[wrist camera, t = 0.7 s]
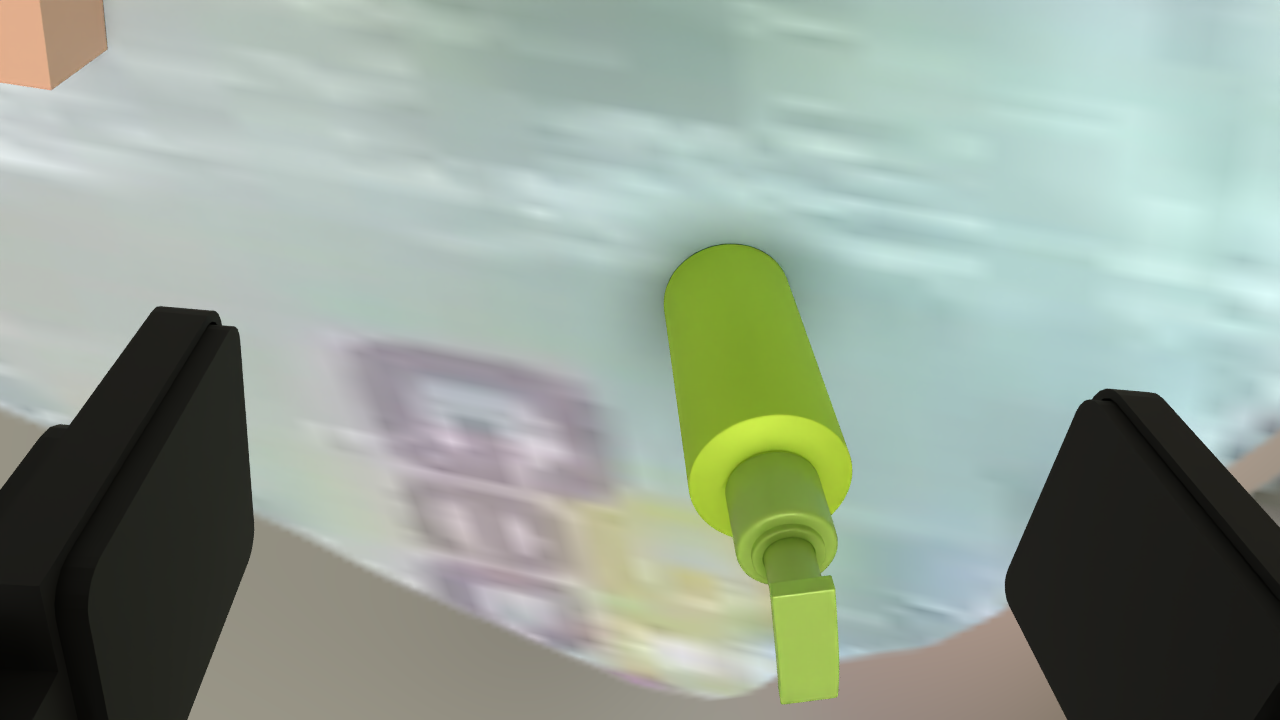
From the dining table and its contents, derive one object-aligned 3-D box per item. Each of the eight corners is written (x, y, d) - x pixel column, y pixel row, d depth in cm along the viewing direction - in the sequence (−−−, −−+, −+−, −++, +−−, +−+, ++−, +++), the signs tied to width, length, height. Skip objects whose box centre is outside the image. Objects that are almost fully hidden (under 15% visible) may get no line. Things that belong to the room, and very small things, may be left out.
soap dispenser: (674, 379, 49) (721, 725, 33) (656, 253, 46) (699, 572, 29) (793, 362, 49) (903, 703, 32) (785, 235, 45) (905, 545, 29)
